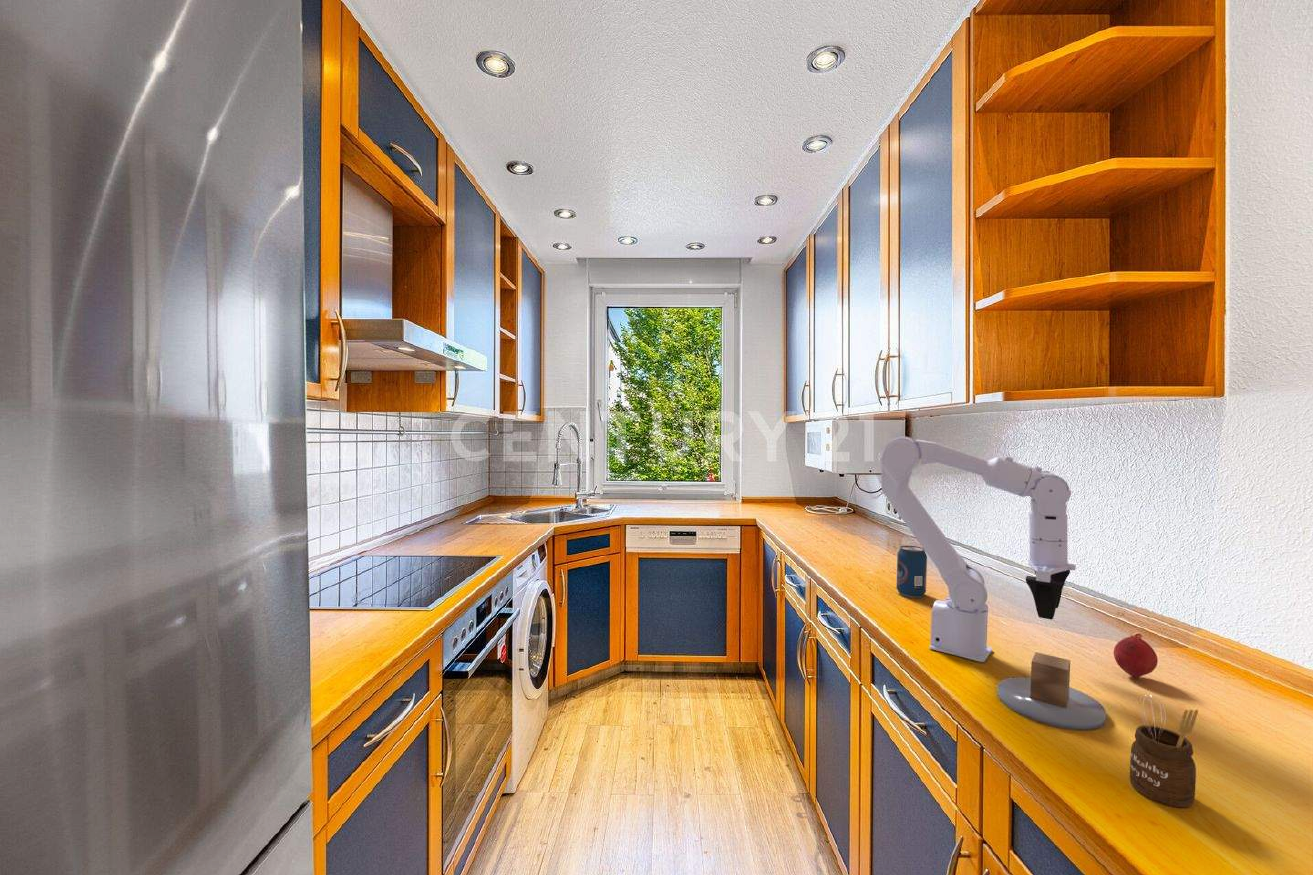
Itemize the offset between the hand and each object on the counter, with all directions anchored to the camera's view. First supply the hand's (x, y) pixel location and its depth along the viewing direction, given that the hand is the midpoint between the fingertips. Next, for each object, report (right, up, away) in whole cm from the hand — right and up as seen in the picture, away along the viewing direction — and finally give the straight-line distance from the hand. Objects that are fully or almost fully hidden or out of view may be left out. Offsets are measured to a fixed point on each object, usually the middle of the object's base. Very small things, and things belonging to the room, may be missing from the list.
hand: (1048, 612), depth 103 cm
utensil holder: (-11, -11, -35) cm, 38 cm away
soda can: (-6, -9, +41) cm, 43 cm away
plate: (-10, -10, -14) cm, 20 cm away
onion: (+12, -10, -4) cm, 17 cm away
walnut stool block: (-10, -9, -14) cm, 19 cm away
